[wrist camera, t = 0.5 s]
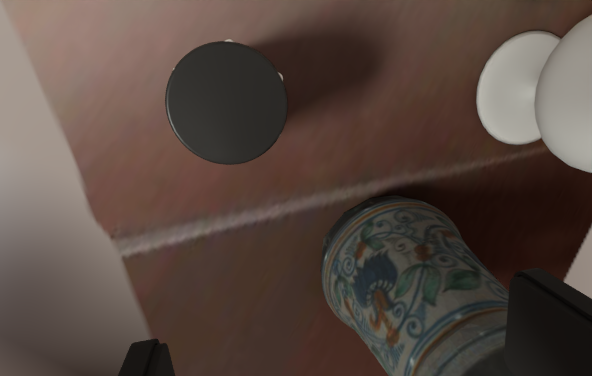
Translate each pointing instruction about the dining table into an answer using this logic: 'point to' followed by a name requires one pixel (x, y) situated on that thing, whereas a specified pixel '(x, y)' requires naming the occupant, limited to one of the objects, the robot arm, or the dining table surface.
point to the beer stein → (415, 290)
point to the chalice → (542, 92)
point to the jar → (226, 102)
